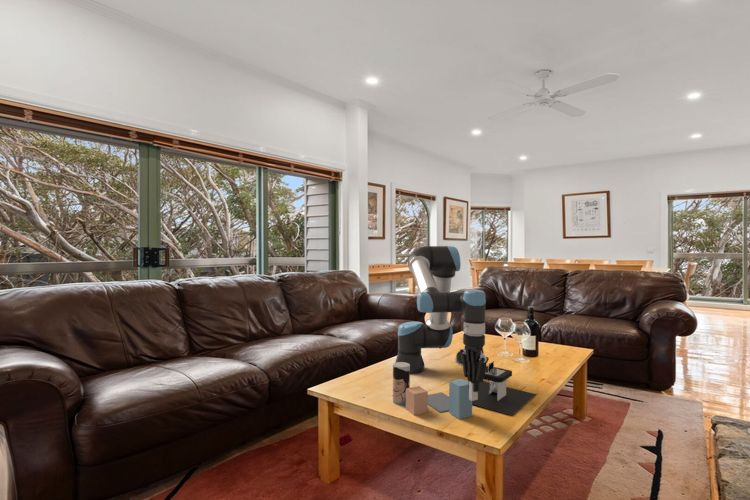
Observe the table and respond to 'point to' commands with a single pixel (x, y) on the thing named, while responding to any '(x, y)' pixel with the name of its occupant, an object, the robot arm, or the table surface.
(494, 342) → the table surface
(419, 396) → the terracotta block
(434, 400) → the charcoal mat
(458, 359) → the ceramic mug
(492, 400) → the black-topped pedestal
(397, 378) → the white patterned canister
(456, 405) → the slate-blue block
